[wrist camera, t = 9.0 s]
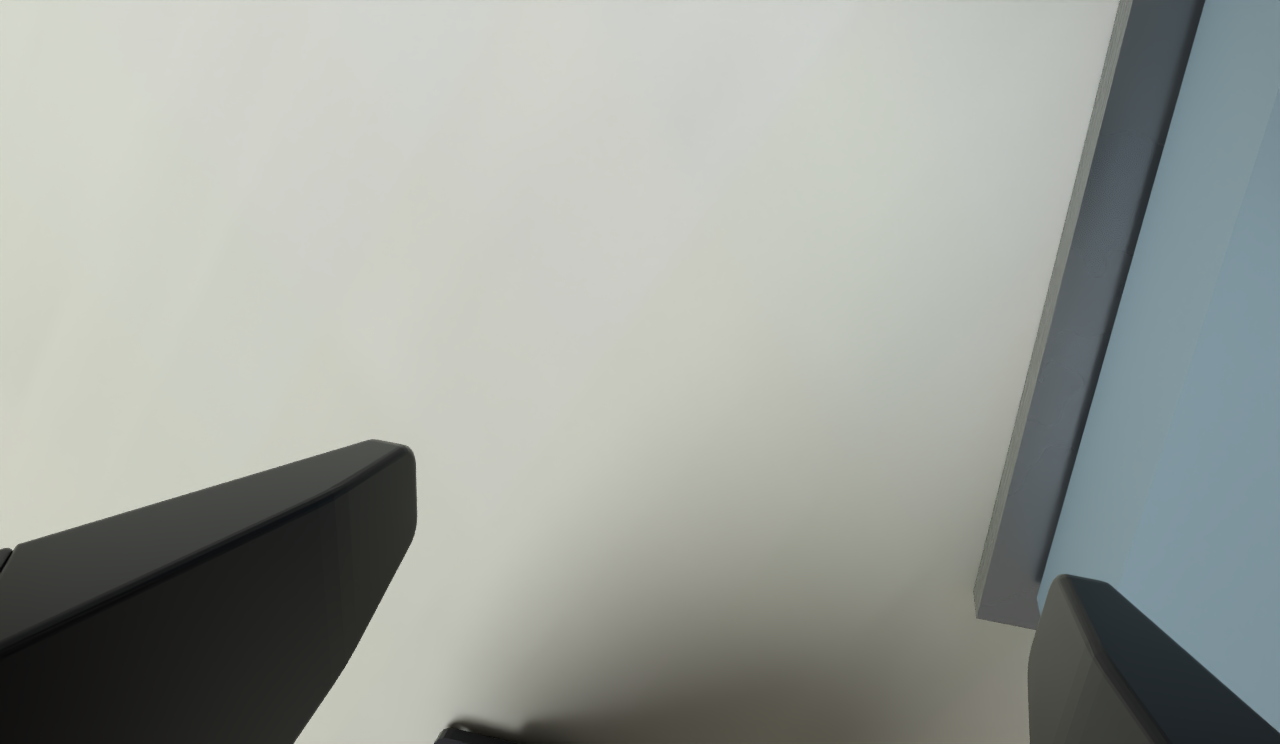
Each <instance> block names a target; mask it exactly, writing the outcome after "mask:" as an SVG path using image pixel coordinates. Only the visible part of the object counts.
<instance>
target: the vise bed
mask: <svg viewBox="0 0 1280 744" xmlns="http://www.w3.org/2000/svg"><path fill="white" fill-rule="evenodd" d="M1204 4H1205V0H1120V3H1119V7H1118V11H1117V15H1116V19H1115V23H1114V27H1113V31H1112V35H1111V39H1110V43H1109V47H1108V51H1107V55H1106V59H1105V63H1104V67H1103V71H1102V75H1101V79H1100V83H1099V87H1098V91H1097V95H1096V99H1095V103H1094V107H1093V112H1092V116H1091V120H1090V124H1089V128H1088V132H1087V136H1086V140H1085V144H1084V148H1083V152H1082V156H1081V160H1080V164H1079V168H1078V172H1077V176H1076V180H1075V184H1074V188H1073V192H1072V196H1071V200H1070V204H1069V208H1068V212H1067V216H1066V220H1065V224H1064V228H1063V232H1062V236H1061V240H1060V244H1059V248H1058V253H1057V257H1056V261H1055V265H1054V269H1053V273H1052V277H1051V281H1050V285H1049V289H1048V293H1047V297H1046V301H1045V305H1044V309H1043V313H1042V317H1041V321H1040V325H1039V329H1038V333H1037V337H1036V341H1035V345H1034V349H1033V353H1032V357H1031V361H1030V365H1029V369H1028V373H1027V377H1026V381H1025V385H1024V390H1023V394H1022V398H1021V402H1020V406H1019V410H1018V414H1017V418H1016V422H1015V426H1014V430H1013V434H1012V438H1011V442H1010V446H1009V450H1008V454H1007V458H1006V462H1005V466H1004V470H1003V474H1002V478H1001V482H1000V486H999V490H998V494H997V498H996V502H995V506H994V510H993V514H992V518H991V522H990V527H989V531H988V535H987V539H986V543H985V547H984V551H983V555H982V559H981V563H980V567H979V571H978V575H977V579H976V583H975V587H974V591H973V592H974V601H975V610H976V618H978V619H983V620H989V621H994V622H999V623H1004V624H1009V625H1014V626H1019V627H1024V628H1029V629H1034V630H1037V627H1038V623H1039V620H1040V612H1039V607H1038V602H1037V595H1038V592H1039V588H1040V585H1041V581H1042V578H1043V574H1044V571H1045V567H1046V563H1047V560H1048V556H1049V553H1050V549H1051V546H1052V542H1053V539H1054V535H1055V532H1056V528H1057V524H1058V521H1059V517H1060V514H1061V510H1062V507H1063V503H1064V500H1065V496H1066V493H1067V489H1068V485H1069V482H1070V478H1071V475H1072V471H1073V468H1074V464H1075V461H1076V457H1077V454H1078V450H1079V446H1080V443H1081V439H1082V436H1083V432H1084V429H1085V425H1086V422H1087V418H1088V415H1089V411H1090V408H1091V404H1092V400H1093V397H1094V393H1095V390H1096V386H1097V383H1098V379H1099V376H1100V372H1101V369H1102V365H1103V361H1104V358H1105V354H1106V351H1107V347H1108V344H1109V340H1110V337H1111V333H1112V330H1113V326H1114V322H1115V319H1116V315H1117V312H1118V308H1119V305H1120V301H1121V298H1122V294H1123V291H1124V287H1125V283H1126V280H1127V276H1128V273H1129V269H1130V266H1131V262H1132V259H1133V255H1134V252H1135V248H1136V244H1137V241H1138V237H1139V234H1140V230H1141V227H1142V223H1143V220H1144V216H1145V213H1146V209H1147V206H1148V202H1149V198H1150V195H1151V191H1152V188H1153V184H1154V181H1155V177H1156V174H1157V170H1158V167H1159V163H1160V159H1161V156H1162V152H1163V149H1164V145H1165V142H1166V138H1167V135H1168V131H1169V128H1170V124H1171V120H1172V117H1173V113H1174V110H1175V106H1176V103H1177V99H1178V96H1179V92H1180V89H1181V85H1182V81H1183V78H1184V74H1185V71H1186V67H1187V64H1188V60H1189V57H1190V53H1191V50H1192V46H1193V43H1194V39H1195V35H1196V32H1197V28H1198V25H1199V21H1200V18H1201V14H1202V11H1203V7H1204Z"/></svg>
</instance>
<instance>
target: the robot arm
mask: <svg viewBox="0 0 1280 744" xmlns="http://www.w3.org/2000/svg"><path fill="white" fill-rule="evenodd" d="M416 525H417V490H416V461H415V456H414V453H413V451H412V450H411V449H410V448H409V447H408V446H406V445H402V444H397V443H392V442H387V441H382V440H373V439H371V440H367V441H363V442H360V443H357V444H353V445H350V446H347V447H343V448H340V449H337V450H333V451H330V452H326V453H323V454H320V455H316V456H313V457H310V458H306V459H303V460H300V461H296V462H293V463H290V464H286V465H283V466H279V467H276V468H273V469H269V470H266V471H263V472H259V473H256V474H253V475H249V476H246V477H243V478H239V479H236V480H232V481H229V482H226V483H222V484H219V485H216V486H212V487H209V488H206V489H202V490H199V491H196V492H192V493H189V494H186V495H182V496H179V497H175V498H172V499H169V500H165V501H162V502H159V503H155V504H152V505H149V506H145V507H142V508H139V509H135V510H132V511H128V512H125V513H122V514H118V515H115V516H112V517H108V518H105V519H102V520H98V521H95V522H92V523H88V524H85V525H82V526H78V527H75V528H71V529H68V530H65V531H61V532H58V533H55V534H51V535H48V536H45V537H41V538H38V539H35V540H31V541H28V542H24V543H21V544H18V545H17V546H16V547H15V548H14V550H13V551H12V549H10V548H4V549H0V744H294V742H295V741H296V739H297V738H298V736H299V735H300V733H301V732H302V730H303V729H304V727H305V726H306V725H307V723H308V722H309V720H310V719H311V717H312V716H313V714H314V713H315V711H316V710H317V708H318V707H319V705H320V704H321V703H322V701H323V700H324V698H325V697H326V695H327V694H328V692H329V691H330V689H331V688H332V686H333V685H334V683H335V682H336V680H337V679H338V677H339V676H340V674H341V672H342V671H343V669H344V668H345V666H346V665H347V663H348V661H349V659H350V657H351V656H352V654H353V652H354V650H355V649H356V647H357V645H358V643H359V641H360V639H361V637H362V636H363V634H364V632H365V630H366V628H367V626H368V624H369V622H370V620H371V619H372V617H373V615H374V613H375V611H376V609H377V607H378V605H379V603H380V601H381V600H382V598H383V596H384V594H385V592H386V590H387V588H388V586H389V584H390V582H391V581H392V579H393V577H394V575H395V573H396V571H397V569H398V567H399V565H400V563H401V562H402V560H403V558H404V556H405V554H406V552H407V550H408V548H409V546H410V544H411V542H412V540H413V537H414V534H415V530H416ZM1028 702H1029V731H1030V744H1280V733H1279V732H1278V731H1277V730H1276V729H1275V728H1274V727H1272V726H1271V725H1270V724H1269V723H1268V722H1267V721H1266V720H1264V719H1263V718H1262V717H1261V716H1260V715H1259V714H1258V713H1256V712H1255V711H1254V710H1253V709H1252V708H1251V707H1250V706H1248V705H1247V704H1246V703H1245V702H1244V701H1243V700H1242V699H1240V698H1239V697H1238V696H1237V695H1236V694H1235V693H1234V692H1232V691H1231V690H1230V689H1229V688H1228V687H1227V686H1226V685H1224V684H1223V683H1222V682H1221V681H1220V680H1219V679H1218V678H1216V677H1215V676H1214V675H1213V674H1212V673H1211V672H1210V671H1208V670H1207V669H1206V668H1205V667H1204V666H1203V665H1202V664H1201V663H1199V662H1198V661H1197V660H1196V659H1195V658H1194V657H1193V656H1191V655H1190V654H1189V653H1188V652H1187V651H1186V650H1185V649H1183V648H1182V647H1181V646H1180V645H1179V644H1178V643H1177V642H1175V641H1174V640H1173V639H1172V638H1171V637H1170V636H1169V635H1167V634H1166V633H1165V632H1164V631H1163V630H1162V629H1161V628H1159V627H1158V626H1157V625H1156V624H1155V623H1154V622H1153V621H1151V620H1150V619H1149V618H1148V617H1147V616H1146V615H1145V614H1143V613H1142V612H1141V611H1140V610H1139V609H1138V608H1137V607H1136V606H1134V605H1133V604H1132V603H1131V602H1130V601H1129V600H1128V599H1126V598H1125V597H1124V596H1123V595H1122V594H1121V593H1120V592H1118V591H1117V590H1116V589H1115V588H1114V587H1113V586H1111V585H1110V584H1109V583H1107V582H1104V581H1101V580H1096V579H1091V578H1086V577H1080V576H1075V575H1070V574H1060V575H1058V576H1057V577H1055V579H1054V580H1053V581H1052V583H1051V585H1050V588H1049V590H1048V594H1047V597H1046V600H1045V604H1044V607H1043V610H1042V614H1041V617H1040V620H1039V623H1038V627H1037V630H1036V633H1035V637H1034V640H1033V643H1032V647H1031V651H1030V656H1029V663H1028ZM434 744H517V743H513V742H508V741H504V740H500V739H496V738H492V737H488V736H484V735H480V734H476V733H472V732H467V731H463V730H459V729H455V728H447V729H444V730H443V731H442V732H441V733H440V734H439V736H438V738H437V739H436V741H435V743H434Z"/></svg>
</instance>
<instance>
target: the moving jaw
mask: <svg viewBox="0 0 1280 744" xmlns="http://www.w3.org/2000/svg"><path fill="white" fill-rule="evenodd" d="M1060 574H1070V575H1075V576H1080V577H1086V578H1091V579H1096V580H1101V581H1104V582H1107V583H1109V584H1110V585H1111V586H1113V587H1114V588H1115V589H1116V590H1117V591H1118V592H1120V593H1121V594H1122V595H1123V596H1124V597H1125V598H1126V599H1128V600H1129V601H1130V602H1131V603H1132V604H1133V605H1134V606H1136V607H1137V608H1138V609H1139V610H1140V611H1141V612H1142V613H1143V614H1145V615H1146V616H1147V617H1148V618H1149V619H1150V620H1151V621H1153V622H1154V623H1155V624H1156V625H1157V626H1158V627H1159V628H1161V629H1162V630H1163V631H1164V632H1165V633H1166V634H1167V635H1169V636H1170V637H1171V638H1172V639H1173V640H1174V641H1175V642H1177V643H1178V644H1179V645H1180V646H1181V647H1182V648H1183V649H1185V650H1186V651H1187V652H1188V653H1189V654H1190V655H1191V656H1193V657H1194V658H1195V659H1196V660H1197V661H1198V662H1199V663H1201V664H1202V665H1203V666H1204V667H1205V668H1206V669H1207V670H1208V671H1210V672H1211V673H1212V674H1213V675H1214V676H1215V677H1216V678H1218V679H1219V680H1220V681H1221V682H1222V683H1223V684H1224V685H1226V686H1227V687H1228V688H1229V689H1230V690H1231V691H1232V692H1234V693H1235V694H1236V695H1237V696H1238V697H1239V698H1240V699H1242V700H1243V701H1244V702H1245V703H1246V704H1247V705H1248V706H1250V707H1251V708H1252V709H1253V710H1254V711H1255V712H1256V713H1258V714H1259V715H1260V716H1261V717H1262V718H1263V719H1264V720H1266V721H1267V722H1268V723H1269V724H1270V725H1271V726H1272V727H1274V728H1275V729H1276V730H1277V731H1278V732H1279V733H1280V0H1205V4H1204V7H1203V11H1202V14H1201V18H1200V21H1199V25H1198V28H1197V32H1196V35H1195V39H1194V43H1193V46H1192V50H1191V53H1190V57H1189V60H1188V64H1187V67H1186V71H1185V74H1184V78H1183V81H1182V85H1181V89H1180V92H1179V96H1178V99H1177V103H1176V106H1175V110H1174V113H1173V117H1172V120H1171V124H1170V128H1169V131H1168V135H1167V138H1166V142H1165V145H1164V149H1163V152H1162V156H1161V159H1160V163H1159V167H1158V170H1157V174H1156V177H1155V181H1154V184H1153V188H1152V191H1151V195H1150V198H1149V202H1148V206H1147V209H1146V213H1145V216H1144V220H1143V223H1142V227H1141V230H1140V234H1139V237H1138V241H1137V244H1136V248H1135V252H1134V255H1133V259H1132V262H1131V266H1130V269H1129V273H1128V276H1127V280H1126V283H1125V287H1124V291H1123V294H1122V298H1121V301H1120V305H1119V308H1118V312H1117V315H1116V319H1115V322H1114V326H1113V330H1112V333H1111V337H1110V340H1109V344H1108V347H1107V351H1106V354H1105V358H1104V361H1103V365H1102V369H1101V372H1100V376H1099V379H1098V383H1097V386H1096V390H1095V393H1094V397H1093V400H1092V404H1091V408H1090V411H1089V415H1088V418H1087V422H1086V425H1085V429H1084V432H1083V436H1082V439H1081V443H1080V446H1079V450H1078V454H1077V457H1076V461H1075V464H1074V468H1073V471H1072V475H1071V478H1070V482H1069V485H1068V489H1067V493H1066V496H1065V500H1064V503H1063V507H1062V510H1061V514H1060V517H1059V521H1058V524H1057V528H1056V532H1055V535H1054V539H1053V542H1052V546H1051V549H1050V553H1049V556H1048V560H1047V563H1046V567H1045V571H1044V574H1043V578H1042V581H1041V585H1040V588H1039V592H1038V595H1037V602H1038V607H1039V612H1040V617H1041V614H1042V610H1043V607H1044V604H1045V600H1046V597H1047V594H1048V590H1049V588H1050V585H1051V583H1052V581H1053V580H1054V579H1055V577H1057V576H1058V575H1060Z"/></svg>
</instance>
